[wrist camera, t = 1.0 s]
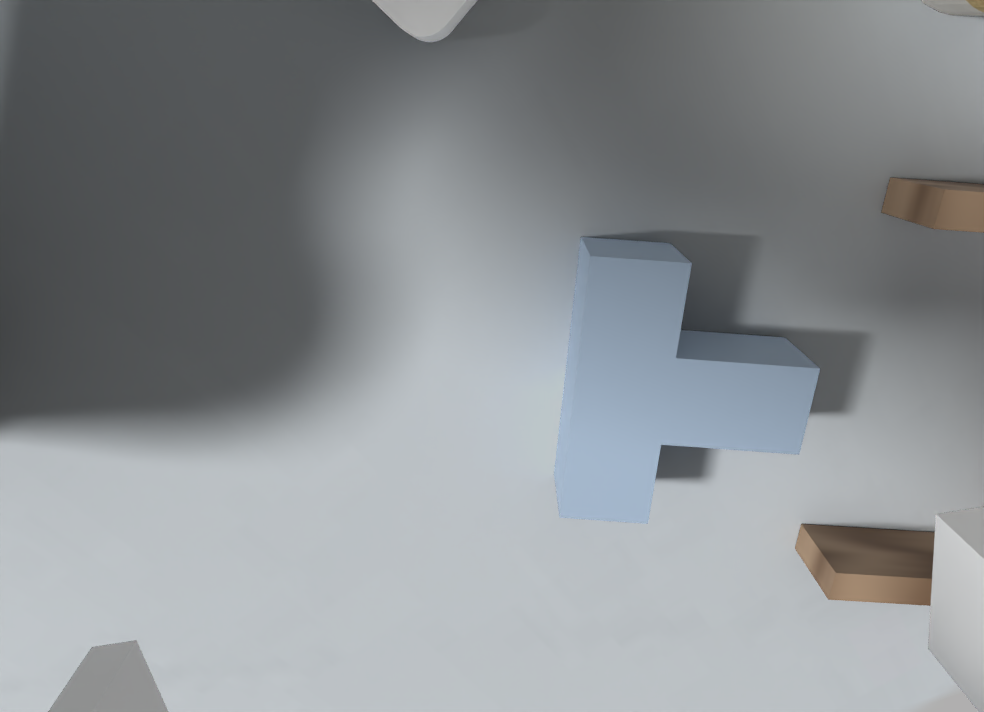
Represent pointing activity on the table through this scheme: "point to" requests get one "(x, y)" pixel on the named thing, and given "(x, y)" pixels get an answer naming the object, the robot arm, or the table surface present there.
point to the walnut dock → (882, 552)
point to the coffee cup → (957, 7)
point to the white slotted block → (426, 16)
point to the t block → (661, 382)
